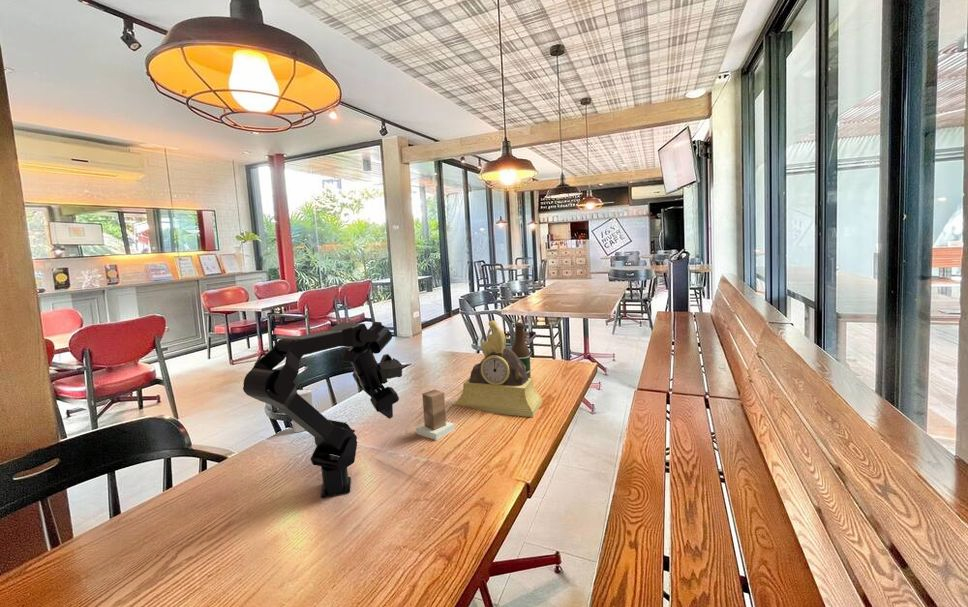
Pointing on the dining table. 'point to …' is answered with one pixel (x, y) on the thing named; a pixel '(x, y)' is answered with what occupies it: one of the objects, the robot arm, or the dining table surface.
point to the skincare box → (307, 396)
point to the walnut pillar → (434, 409)
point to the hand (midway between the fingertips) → (384, 409)
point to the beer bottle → (521, 347)
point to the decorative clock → (500, 381)
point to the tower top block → (435, 431)
